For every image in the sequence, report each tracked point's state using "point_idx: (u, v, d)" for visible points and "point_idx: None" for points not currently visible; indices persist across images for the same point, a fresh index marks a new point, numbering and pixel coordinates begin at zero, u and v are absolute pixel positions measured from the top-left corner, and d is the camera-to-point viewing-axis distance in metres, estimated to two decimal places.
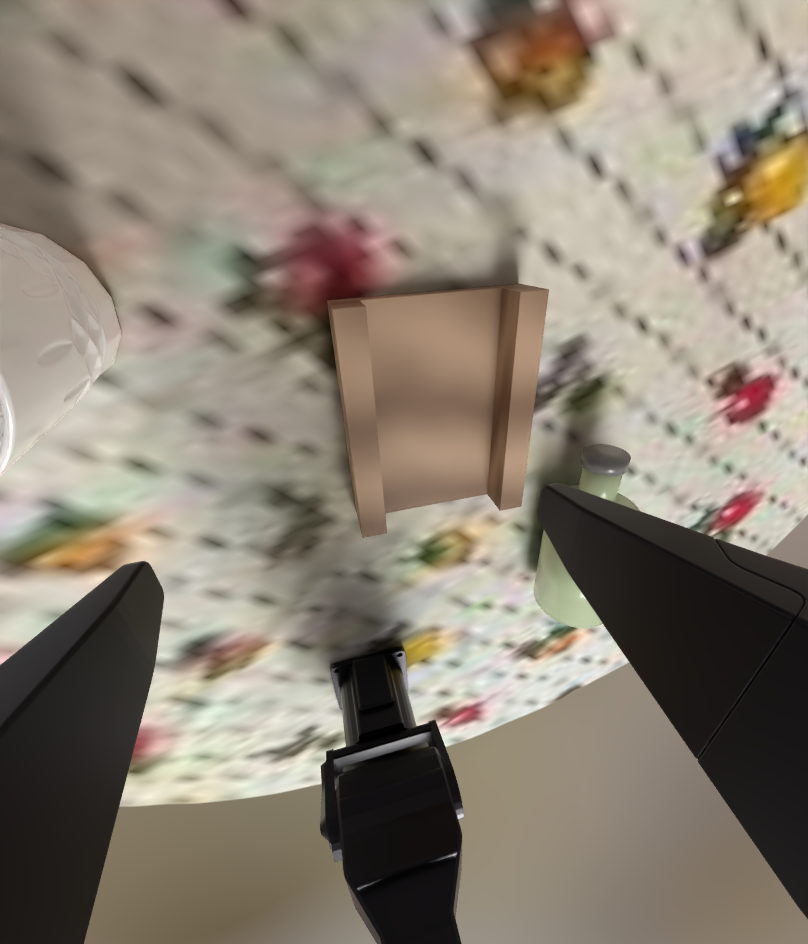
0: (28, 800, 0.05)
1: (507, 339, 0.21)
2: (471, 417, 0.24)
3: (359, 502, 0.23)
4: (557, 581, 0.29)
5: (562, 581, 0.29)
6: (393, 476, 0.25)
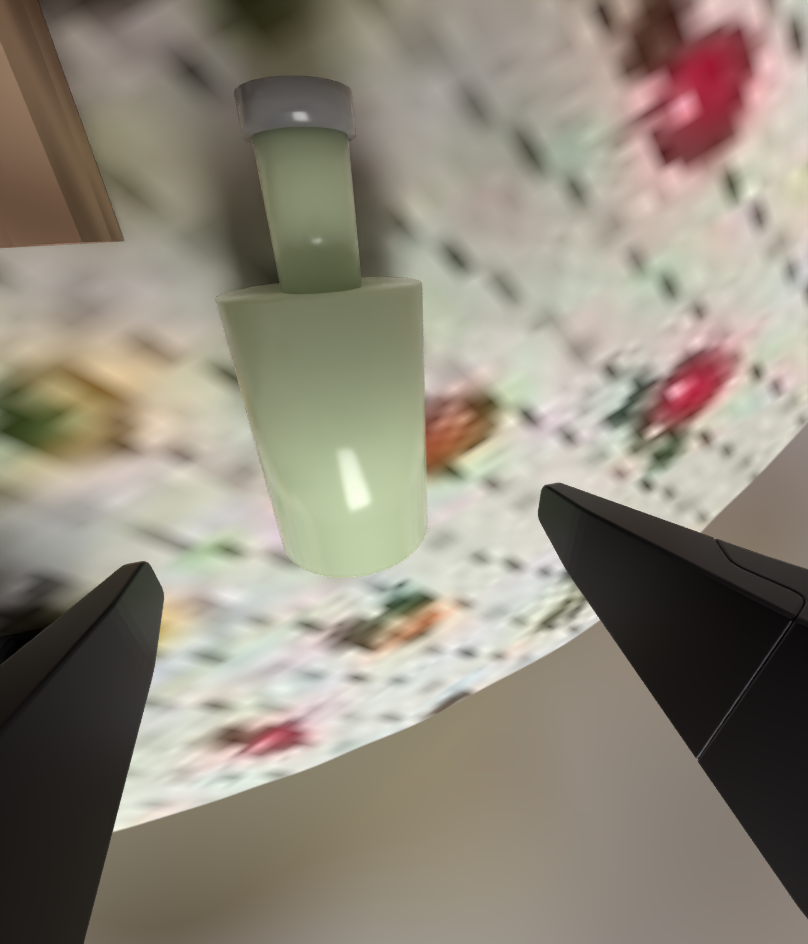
0: (28, 800, 0.05)
1: None
2: None
3: None
4: (266, 471, 0.13)
5: (268, 466, 0.13)
6: None
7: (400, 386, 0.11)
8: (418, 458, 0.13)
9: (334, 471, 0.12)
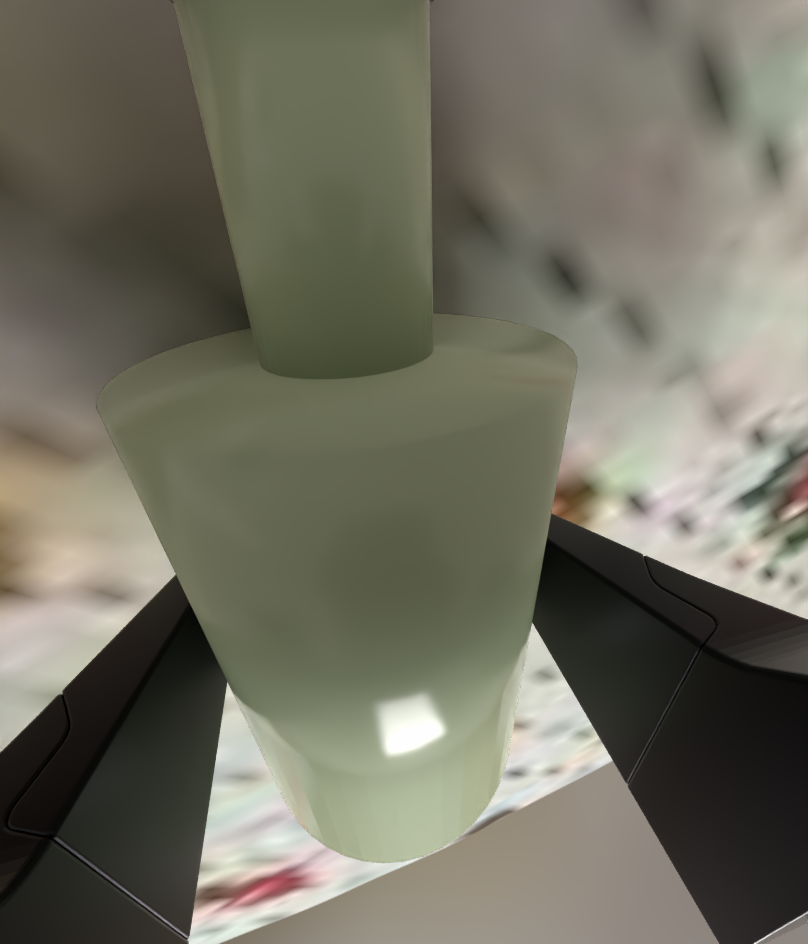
0: (154, 765, 0.05)
1: None
2: None
3: None
4: None
5: None
6: None
7: (525, 578, 0.05)
8: (524, 660, 0.07)
9: (374, 751, 0.05)
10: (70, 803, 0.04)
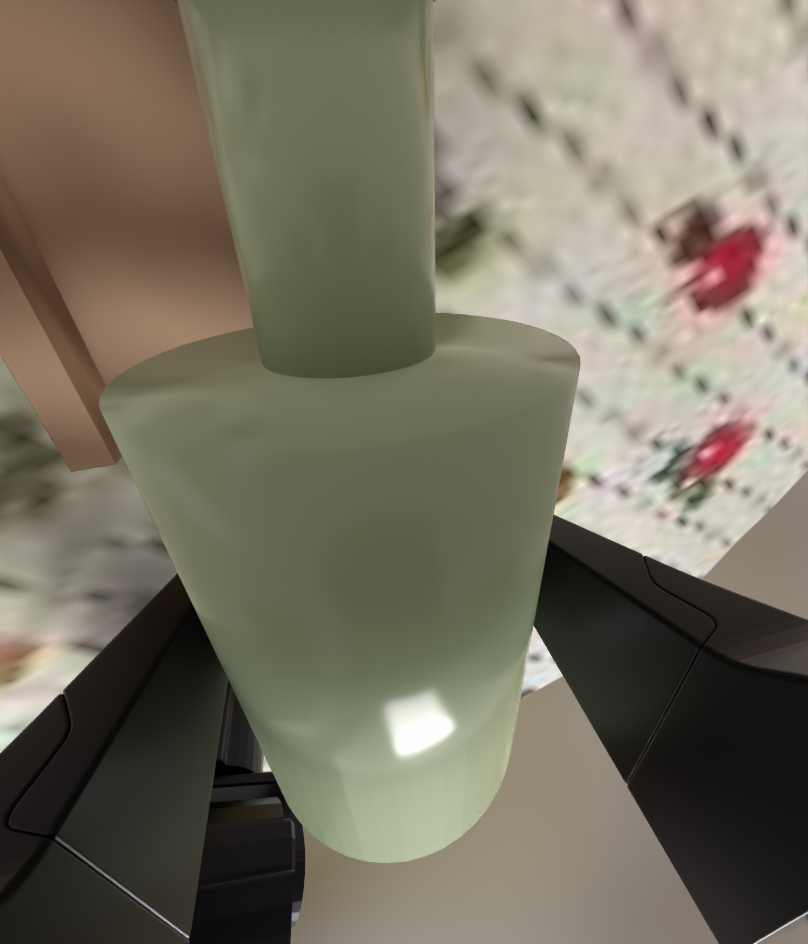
0: (155, 765, 0.05)
1: None
2: None
3: (33, 405, 0.13)
4: (236, 695, 0.07)
5: (238, 700, 0.06)
6: None
7: (528, 577, 0.05)
8: (526, 660, 0.07)
9: (376, 751, 0.05)
10: (71, 803, 0.04)
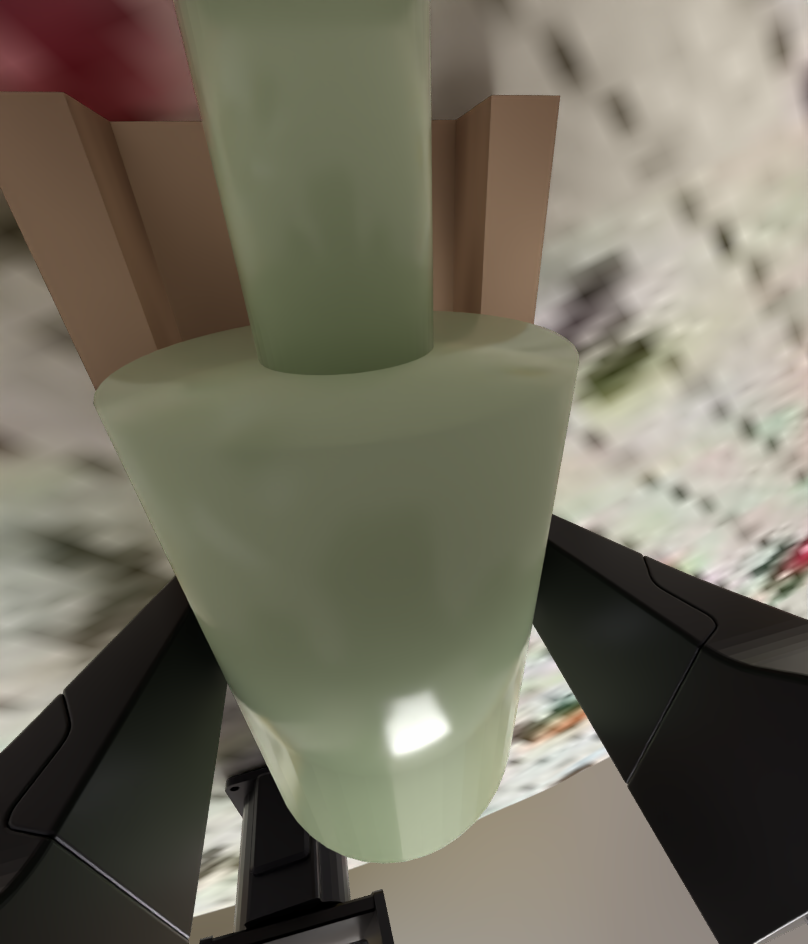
0: (155, 765, 0.05)
1: (469, 235, 0.10)
2: None
3: None
4: None
5: (236, 699, 0.06)
6: None
7: (526, 576, 0.05)
8: (525, 659, 0.07)
9: (374, 750, 0.05)
10: (71, 803, 0.04)
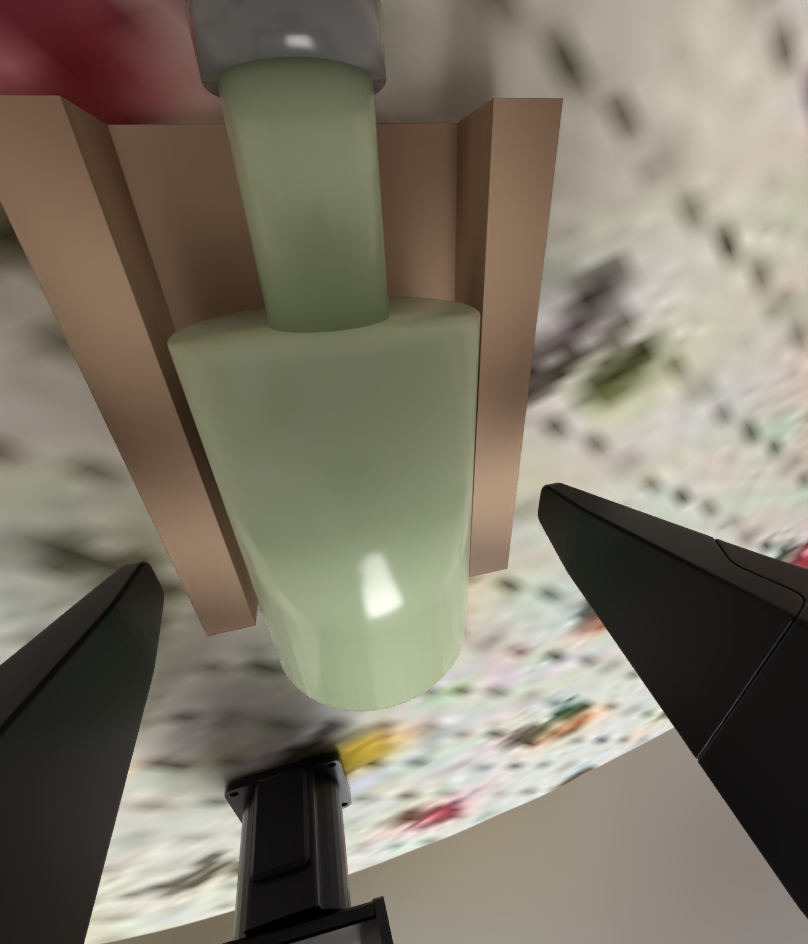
0: (28, 800, 0.05)
1: (471, 239, 0.10)
2: None
3: (183, 578, 0.12)
4: (250, 574, 0.09)
5: (253, 573, 0.09)
6: None
7: (449, 469, 0.08)
8: (464, 552, 0.10)
9: (349, 592, 0.08)
10: None
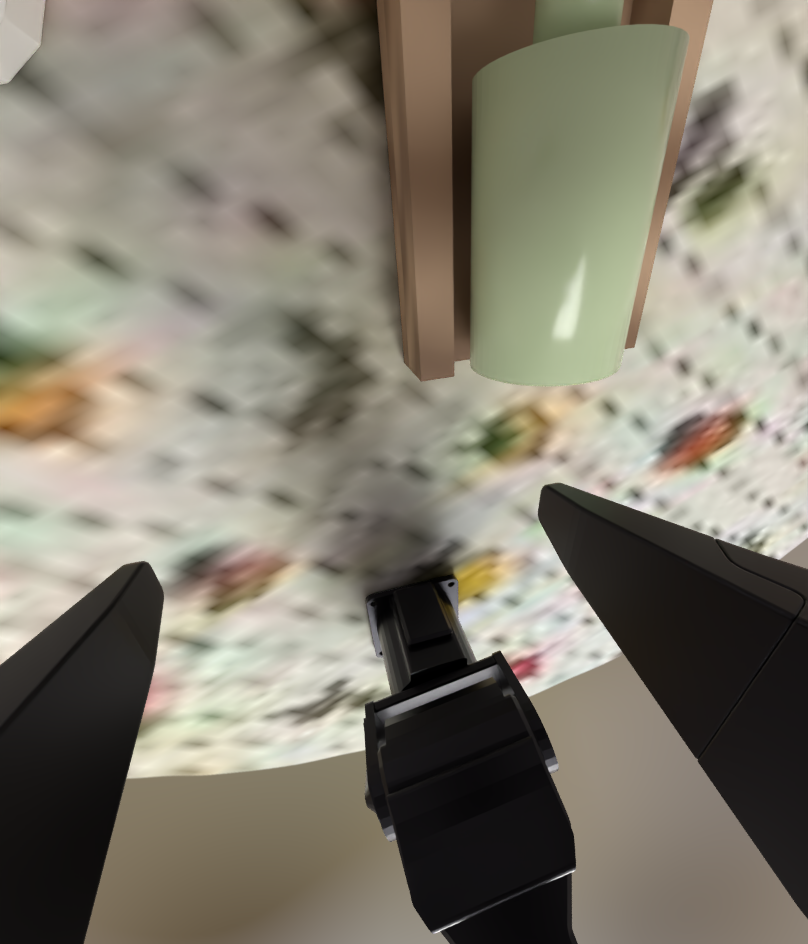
0: (28, 800, 0.05)
1: None
2: None
3: (419, 317, 0.16)
4: (494, 269, 0.13)
5: (502, 259, 0.13)
6: (460, 300, 0.18)
7: (659, 152, 0.11)
8: (643, 257, 0.13)
9: (583, 247, 0.12)
10: None
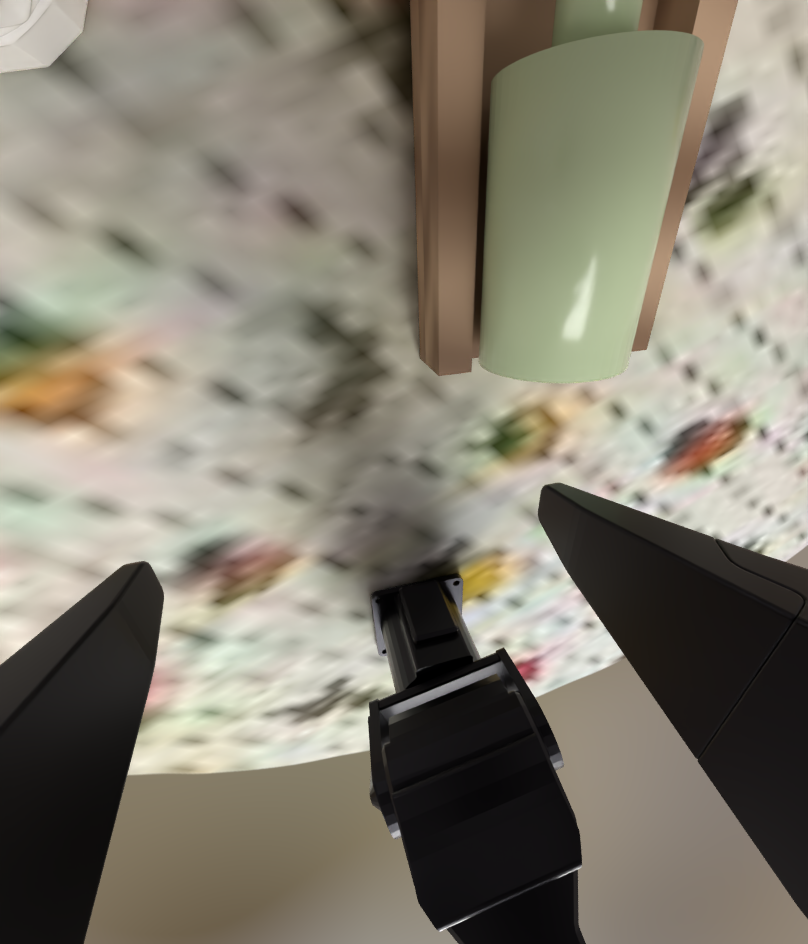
0: (28, 800, 0.05)
1: None
2: None
3: (440, 312, 0.16)
4: (500, 266, 0.14)
5: (507, 256, 0.14)
6: (478, 298, 0.18)
7: (667, 155, 0.12)
8: (651, 260, 0.14)
9: (584, 246, 0.12)
10: None
